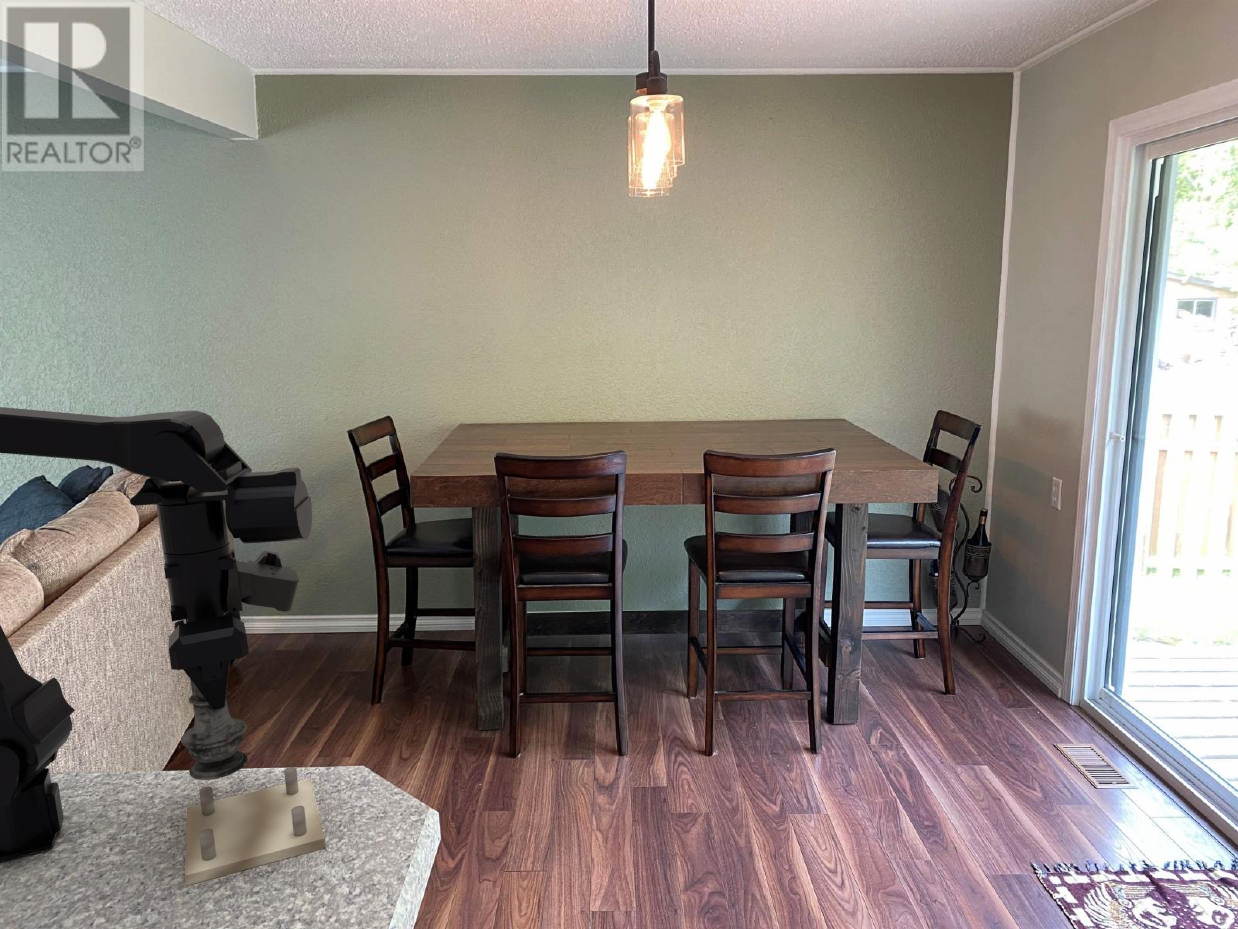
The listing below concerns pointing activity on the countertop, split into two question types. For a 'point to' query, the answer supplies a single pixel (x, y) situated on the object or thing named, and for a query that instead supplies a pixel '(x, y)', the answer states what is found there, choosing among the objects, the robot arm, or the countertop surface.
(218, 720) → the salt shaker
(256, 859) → the pin board
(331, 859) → the countertop surface
